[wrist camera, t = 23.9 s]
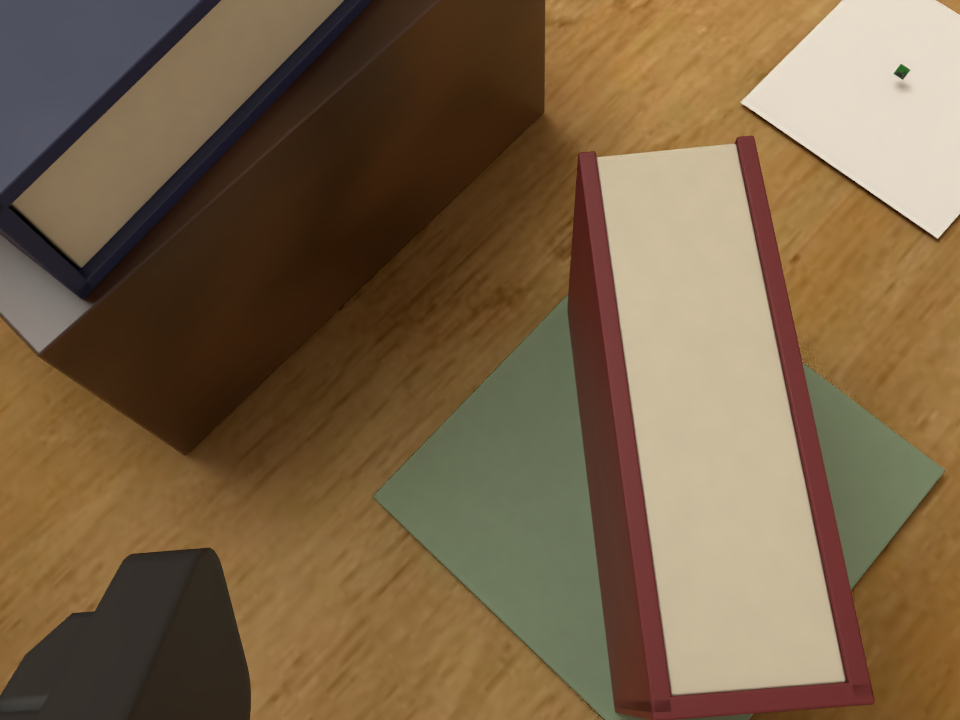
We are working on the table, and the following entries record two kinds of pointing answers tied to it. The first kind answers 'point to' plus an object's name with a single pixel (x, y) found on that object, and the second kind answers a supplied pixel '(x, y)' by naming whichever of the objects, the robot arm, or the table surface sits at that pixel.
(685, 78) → the table surface
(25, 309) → the riser
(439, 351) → the table surface
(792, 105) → the white block
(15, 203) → the bottom book
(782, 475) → the top book
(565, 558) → the felt mat
